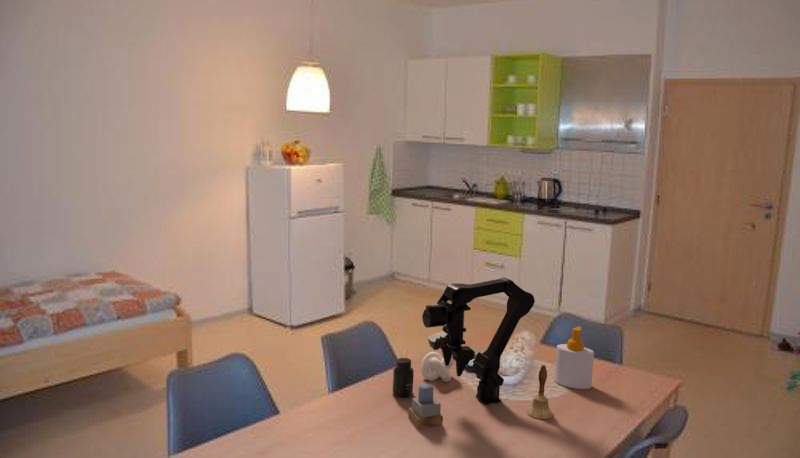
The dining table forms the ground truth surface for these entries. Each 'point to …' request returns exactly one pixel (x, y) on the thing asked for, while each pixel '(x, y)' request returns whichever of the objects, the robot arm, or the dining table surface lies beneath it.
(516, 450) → the dining table surface
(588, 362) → the soap bottle
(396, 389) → the supplement bottle
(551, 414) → the hand bell
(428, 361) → the white knot sculpture
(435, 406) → the grey slab
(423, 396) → the grey rounded cylinder
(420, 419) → the walnut slab
